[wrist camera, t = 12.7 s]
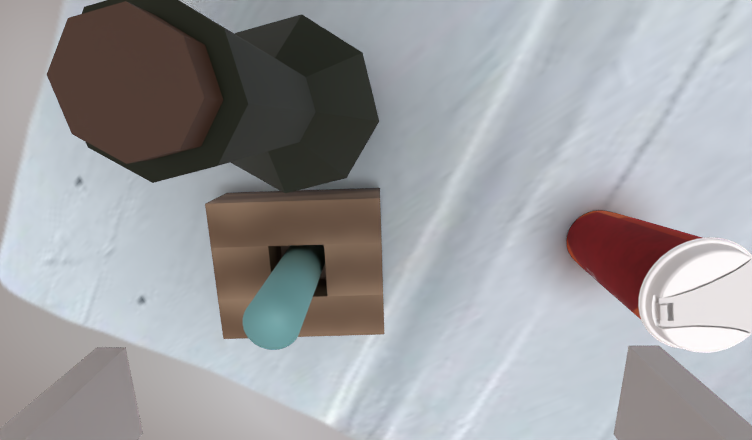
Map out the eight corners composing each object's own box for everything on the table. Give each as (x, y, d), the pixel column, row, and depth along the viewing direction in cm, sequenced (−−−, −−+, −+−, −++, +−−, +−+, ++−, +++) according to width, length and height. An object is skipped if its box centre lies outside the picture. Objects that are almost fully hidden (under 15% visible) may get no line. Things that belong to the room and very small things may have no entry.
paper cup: (559, 283, 39) (655, 370, 26) (550, 208, 38) (648, 258, 24) (640, 267, 39) (782, 347, 25) (635, 190, 37) (784, 231, 24)
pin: (285, 238, 37) (238, 298, 25) (324, 236, 37) (297, 295, 25) (289, 275, 38) (246, 351, 26) (327, 273, 38) (303, 348, 25)
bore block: (227, 192, 37) (205, 203, 32) (379, 188, 37) (380, 198, 32) (241, 312, 40) (223, 338, 35) (383, 308, 40) (384, 334, 35)
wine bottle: (279, 154, 36) (-105, 290, 7) (288, 56, 35) (-193, -288, 5) (371, 167, 37) (350, 349, 8) (385, 71, 35) (427, -181, 6)
